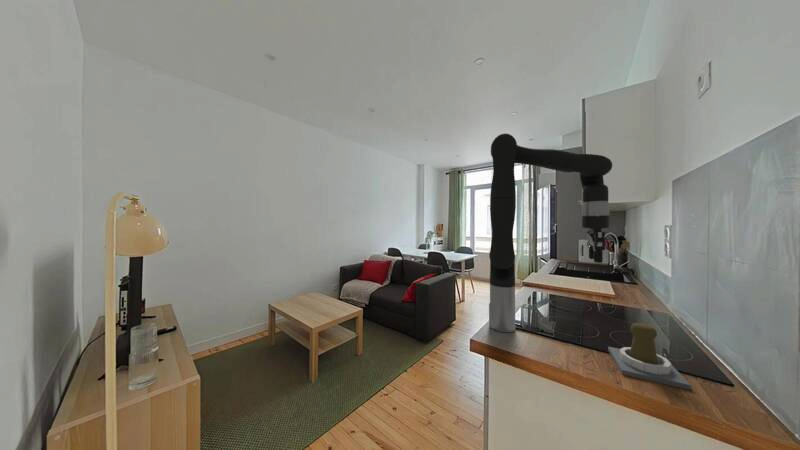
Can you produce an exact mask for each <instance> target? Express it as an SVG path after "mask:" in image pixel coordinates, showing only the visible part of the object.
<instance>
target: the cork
mask: <svg viewBox="0 0 800 450" xmlns="http://www.w3.org/2000/svg"><path fill="white" fill-rule="evenodd" d="M630 330H631V333H632V335H633V336H632V340H631V341H632V342H631V346H630V347H631V351H630V357H632V358H634V359H636V360H639V361H642V362H644V363H649V364H654V365H658V360H657V354H658V353H657V349H656V345H655V339H656V338H657V336H658V335H657V334H658V333H657V330H656V329H655V328H654V327H653V326H652V325H649V324H647V323H641V322H640V323H639V322H635V323H632V324H631V326H630Z"/></svg>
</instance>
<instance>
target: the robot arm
mask: <svg viewBox="0 0 800 450" xmlns="http://www.w3.org/2000/svg"><path fill="white" fill-rule="evenodd" d="M490 156H491V158H492V166H493V167H492V178H491V179H492V181H491V185H490V186H491V187H490V193H489V194H490V197H489V211H490V212H489V213H490V214H489V215H490V222H491V223H490V225H491V242H490V249H489V250H490V251H489V265H490V266H489V303H488V327H489V329H492V330H494V331H497V332H500V333H513V332H515V331H516V271H515V270H516V269H515V268H516V264H515V263H516V262H515V261H516V254H515V253H516V252H515V248H514V237H513V235H514V225H515V220H516V219H515V218H516V210H517V209H516V208H517V207H516V206H517V204H516V203H517V202H516V201H517V194H516V192H517V191H516V179H515V177H516V176H515V164H522V165H529V166H534V167H539V168H545V169H548V170H552V171H553V170H554V171H559V172H562V173H579V177H580V178H579V179H580V183H581V187H582V207H581V227H582V228H583V229H588V230H587V231H586V234H587V235H586V237H587V238H586V239H587V240H586V245H587V248H588V258H589V259H590V260H593V262H594V263H600V264H601V263H603V252H604V251H605V250H606V243H605V242H606V240H605V239H606V237H605V235H606V233H605V231H603V230H602V229H609V228H610V204H609V202H610V201H609V187H608V186H607V185H606V184H605V182H604V176H605V175H608V174H609V173H610V172H611V170H612V168H613V163H612V160H611V159H610V158H608V157H607V156H605V155H600V154H592V153H575V152H570V151H566V150H561V149H554V148H552V149H551V148H529V147H525V146H521V145H518V142H517V140H516V138H515V137H514V136H513V134H509V133H501V134H498V135H497V136H496V137H495V138H494V139H493V141H492V143H491V146H490Z"/></svg>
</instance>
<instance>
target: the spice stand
mask: <svg viewBox="0 0 800 450" xmlns="http://www.w3.org/2000/svg"><path fill="white" fill-rule="evenodd" d="M607 351H608V353H609V354H610V356H611V359H612V360H613V361H614V363H615V364H616V366H617V369H618V370H619V372H620V375H624V376H628V377H633V378H637V379H641V380H646V381H650V382H654V383H659V384H664V385H668V386H672V387H677V388H681V389H685V390H689V391H692V384H691V383H690V382H689V381H688V380H686V378H685V377H684V376H683V374H682V373H680V371H678V369H676V368H675V366H673V364H672V362H671V361H669V359H667V358H666V357H665V356H663V355H660V354H659V353H656V354H657V360H658V365H654V364H649V363H644V362H642V361H639V360H636V359H634V358H632V357H630V351H631V346H630V347H629V346H628V347H625V346H624V347H622V348H617V347H612V346H607Z"/></svg>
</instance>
